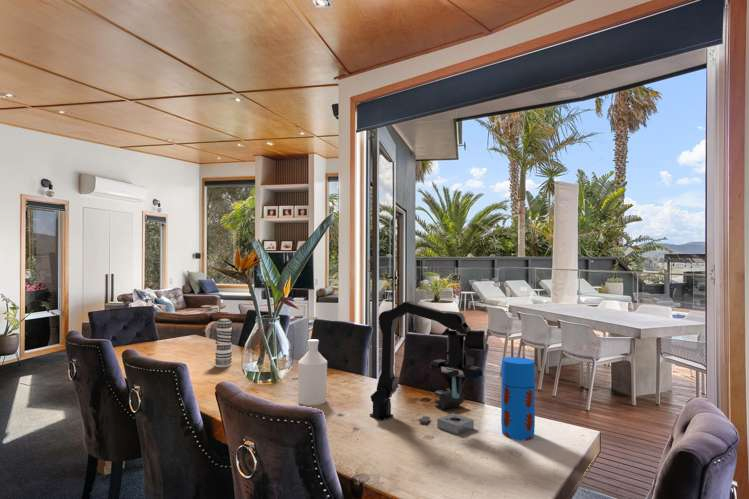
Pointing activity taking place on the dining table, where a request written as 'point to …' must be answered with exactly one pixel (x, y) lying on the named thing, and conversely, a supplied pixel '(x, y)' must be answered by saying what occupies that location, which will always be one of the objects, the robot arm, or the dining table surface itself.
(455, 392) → the round bit
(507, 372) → the thermos
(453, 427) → the socket block
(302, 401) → the bottle
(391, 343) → the robot arm
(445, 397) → the end cap
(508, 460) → the dining table surface
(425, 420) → the charcoal rectangular brick
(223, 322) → the decorative candle
